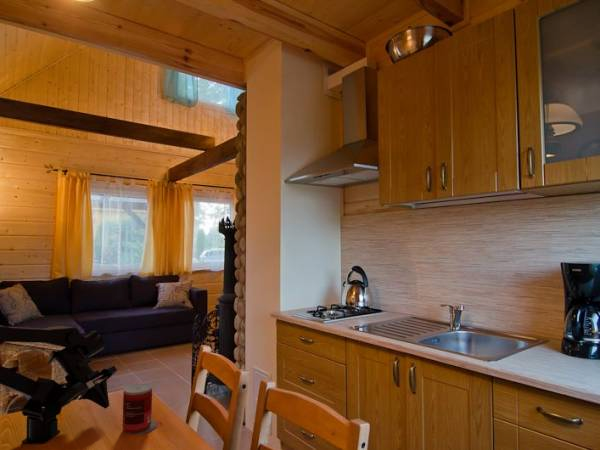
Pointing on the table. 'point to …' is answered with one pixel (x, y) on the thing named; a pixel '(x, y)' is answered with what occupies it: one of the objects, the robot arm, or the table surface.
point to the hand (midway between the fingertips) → (107, 407)
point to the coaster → (151, 428)
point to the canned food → (137, 407)
